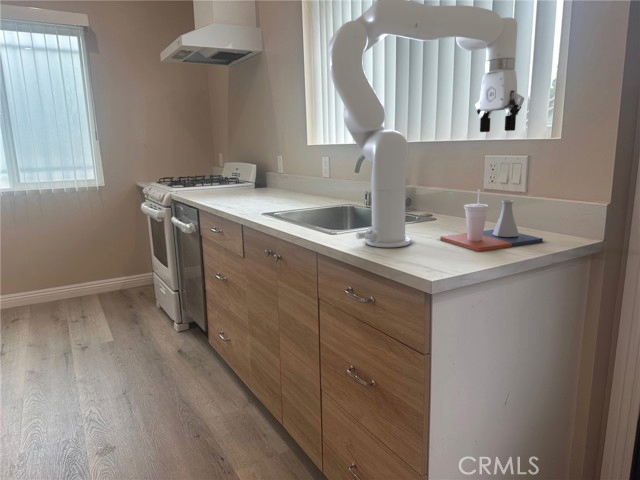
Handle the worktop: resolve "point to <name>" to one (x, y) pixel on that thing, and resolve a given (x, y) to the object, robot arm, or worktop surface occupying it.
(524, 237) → the sorting board
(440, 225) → the worktop surface
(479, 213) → the smoothie
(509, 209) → the flask
